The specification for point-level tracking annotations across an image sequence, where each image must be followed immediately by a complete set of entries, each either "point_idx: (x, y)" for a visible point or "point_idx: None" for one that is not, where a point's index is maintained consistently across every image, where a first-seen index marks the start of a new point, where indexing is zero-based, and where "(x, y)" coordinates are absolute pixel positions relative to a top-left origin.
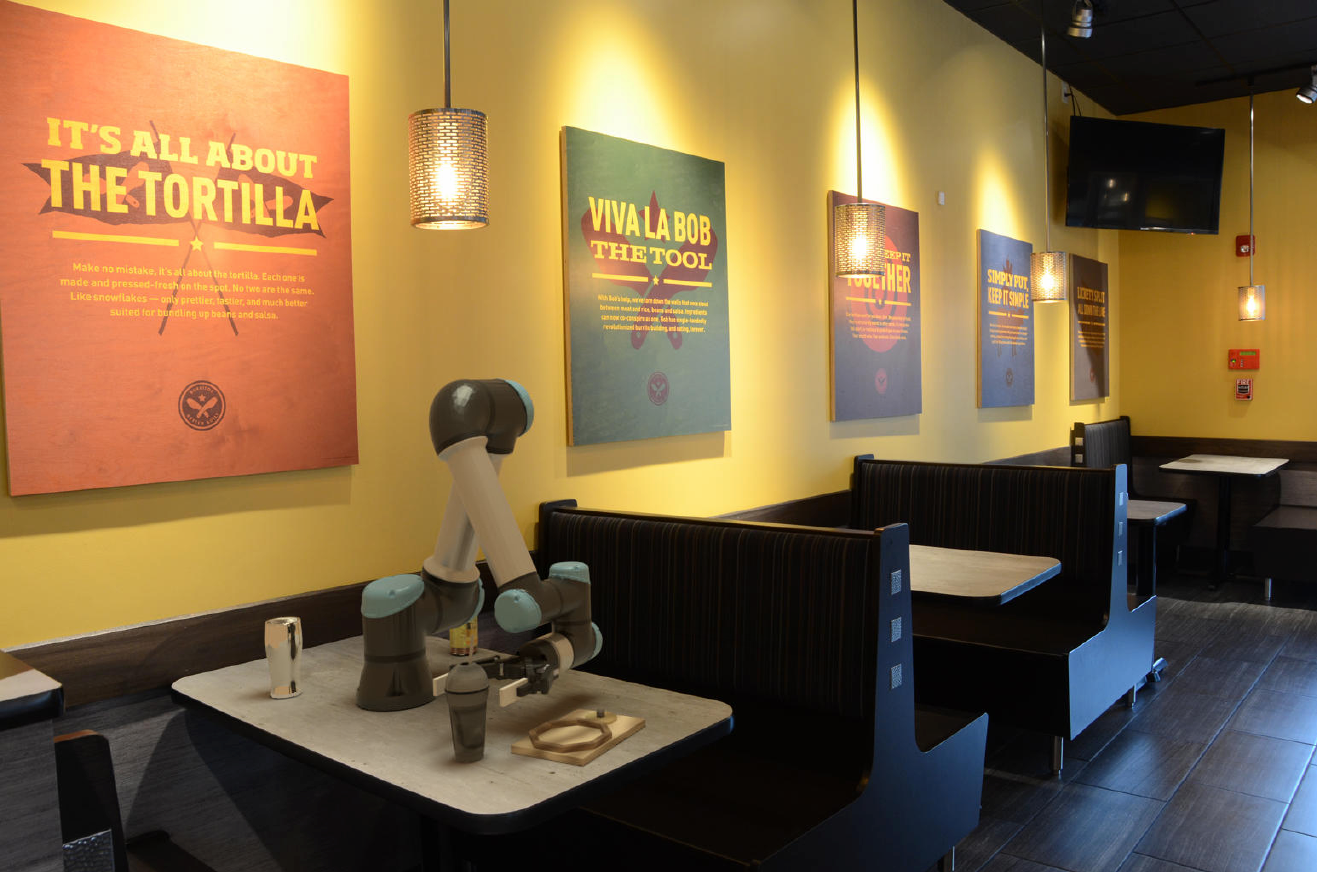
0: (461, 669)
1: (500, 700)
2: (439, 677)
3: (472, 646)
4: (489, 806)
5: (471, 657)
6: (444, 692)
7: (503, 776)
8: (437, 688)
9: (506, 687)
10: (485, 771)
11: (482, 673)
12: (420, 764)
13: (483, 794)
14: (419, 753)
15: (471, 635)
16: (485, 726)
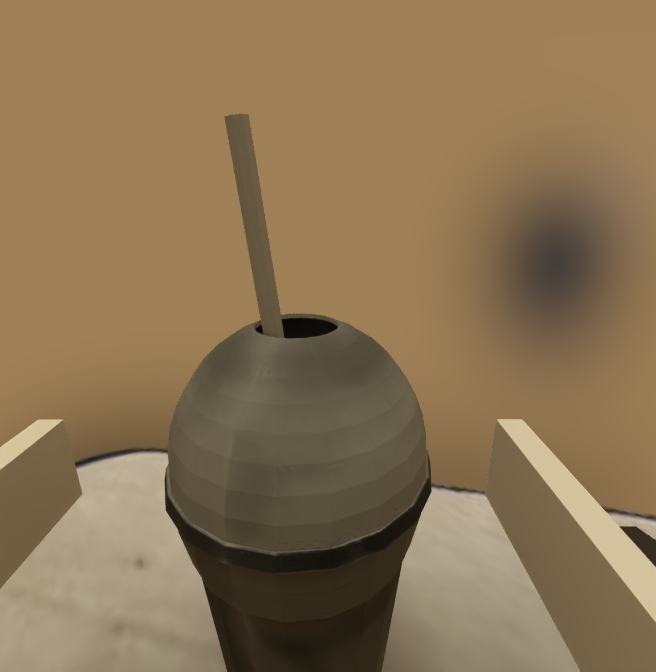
0: (284, 321)
1: (72, 469)
2: (530, 444)
3: (242, 209)
4: (116, 474)
5: (258, 290)
6: (511, 542)
7: (109, 606)
8: (493, 467)
9: (16, 442)
10: (184, 616)
11: (185, 389)
12: (418, 578)
13: (144, 505)
14: (517, 656)
15: (247, 118)
16: (227, 669)
